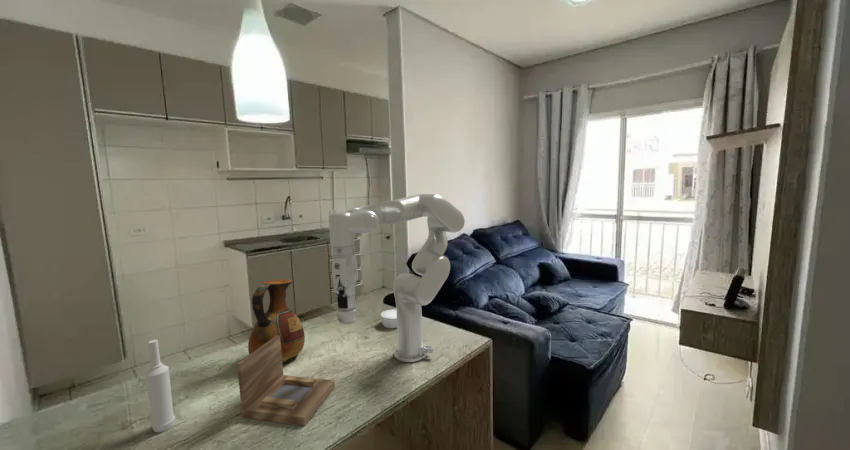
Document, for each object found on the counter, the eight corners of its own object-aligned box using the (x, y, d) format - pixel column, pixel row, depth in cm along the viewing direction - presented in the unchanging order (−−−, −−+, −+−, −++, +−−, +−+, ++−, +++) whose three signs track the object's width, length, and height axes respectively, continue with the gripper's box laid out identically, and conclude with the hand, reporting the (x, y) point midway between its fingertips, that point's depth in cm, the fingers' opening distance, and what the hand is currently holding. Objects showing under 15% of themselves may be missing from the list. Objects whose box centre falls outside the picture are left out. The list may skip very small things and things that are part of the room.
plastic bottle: (337, 320, 116) (332, 262, 113) (357, 317, 118) (353, 260, 115) (338, 328, 110) (333, 267, 107) (359, 324, 112) (355, 265, 109)
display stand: (334, 387, 112) (332, 339, 110) (305, 426, 95) (300, 369, 93) (280, 381, 116) (276, 335, 114) (241, 417, 99) (236, 363, 97)
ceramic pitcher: (315, 347, 140) (310, 275, 136) (282, 374, 121) (275, 291, 117) (275, 342, 146) (269, 273, 142) (237, 367, 126) (229, 288, 123)
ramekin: (404, 329, 155) (404, 318, 155) (379, 330, 155) (379, 318, 155) (405, 319, 166) (405, 308, 166) (382, 320, 166) (381, 309, 166)
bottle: (180, 419, 99) (169, 336, 95) (167, 432, 94) (155, 345, 90) (161, 420, 98) (150, 337, 95) (147, 433, 93) (135, 346, 90)
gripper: (342, 256, 102) (346, 315, 104) (364, 245, 118) (367, 295, 121) (319, 256, 103) (323, 314, 106) (343, 245, 120) (347, 295, 122)
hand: (347, 303), depth 113 cm, fingers closed on plastic bottle, 5 cm apart
